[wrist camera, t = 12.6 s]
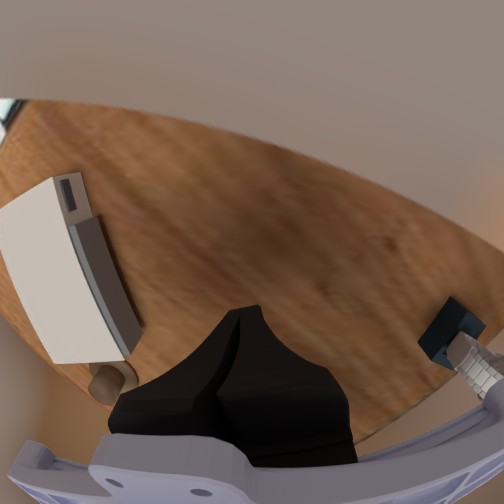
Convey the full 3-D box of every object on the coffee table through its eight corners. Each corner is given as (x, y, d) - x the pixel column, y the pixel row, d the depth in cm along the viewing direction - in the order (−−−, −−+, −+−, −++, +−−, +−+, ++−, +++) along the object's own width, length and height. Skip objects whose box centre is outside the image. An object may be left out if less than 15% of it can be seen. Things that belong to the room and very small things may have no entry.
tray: (96, 215, 19) (74, 224, 16) (143, 333, 22) (130, 354, 19) (29, 243, 20) (7, 254, 17) (72, 341, 23) (57, 359, 20)
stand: (147, 391, 26) (137, 414, 22) (107, 391, 26) (95, 412, 23) (123, 349, 24) (109, 372, 21) (82, 353, 25) (67, 373, 21)
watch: (448, 357, 24) (496, 422, 14) (406, 336, 23) (461, 418, 13) (478, 316, 23) (537, 374, 12) (441, 288, 22) (514, 355, 11)
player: (82, 171, 19) (53, 175, 15) (141, 334, 23) (126, 360, 20) (17, 207, 20) (-10, 215, 16) (71, 342, 24) (54, 363, 21)
